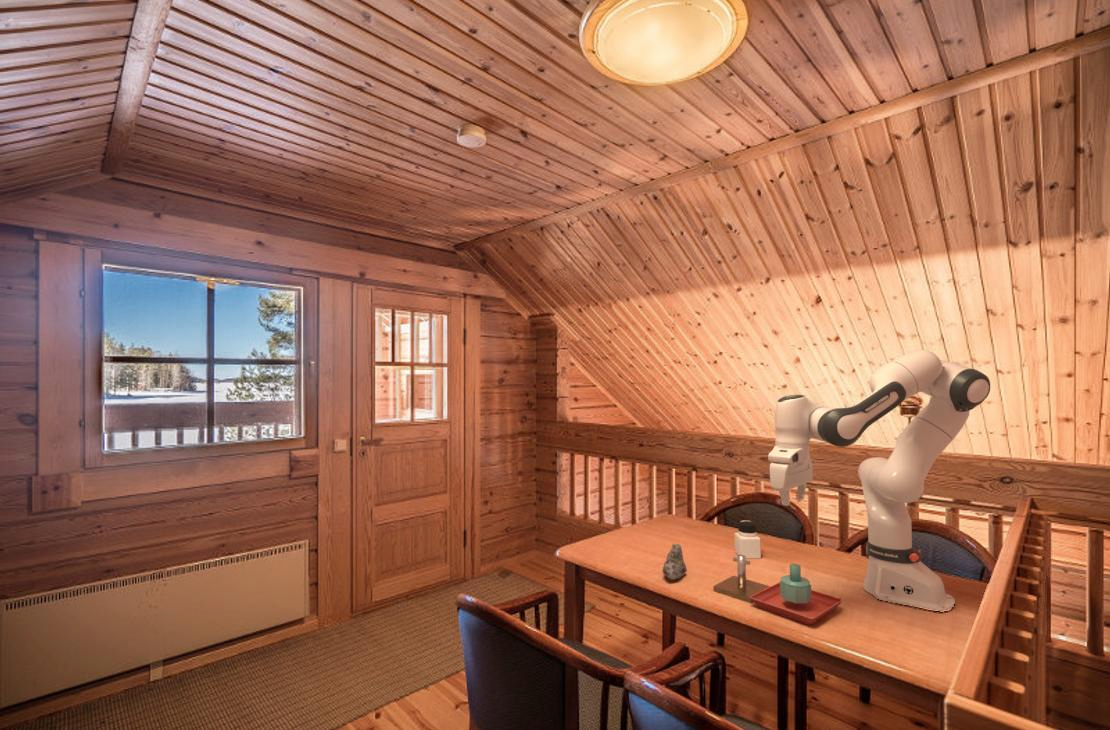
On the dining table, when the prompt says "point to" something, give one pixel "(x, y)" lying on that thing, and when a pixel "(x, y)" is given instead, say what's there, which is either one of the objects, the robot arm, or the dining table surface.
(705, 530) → the dining table surface
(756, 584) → the post
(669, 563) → the mineral rock
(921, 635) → the dining table surface
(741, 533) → the medicine bottle
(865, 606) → the dining table surface
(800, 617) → the plant saucer
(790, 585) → the cap
